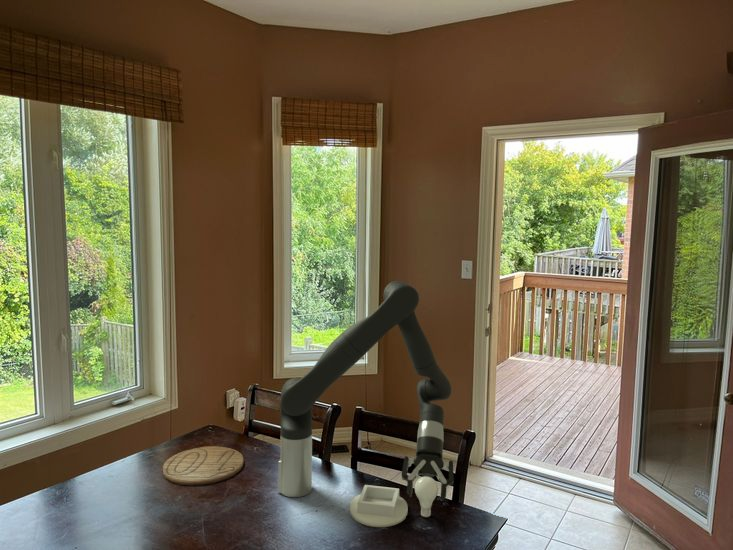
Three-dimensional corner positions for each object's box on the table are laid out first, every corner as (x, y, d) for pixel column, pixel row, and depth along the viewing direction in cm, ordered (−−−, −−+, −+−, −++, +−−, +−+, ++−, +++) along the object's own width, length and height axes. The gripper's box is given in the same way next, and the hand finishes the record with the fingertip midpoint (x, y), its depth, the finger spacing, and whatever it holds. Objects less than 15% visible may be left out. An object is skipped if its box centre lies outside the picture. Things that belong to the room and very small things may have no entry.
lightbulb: (436, 524, 139) (437, 484, 138) (412, 521, 140) (413, 481, 139) (438, 511, 145) (439, 473, 144) (415, 509, 147) (416, 471, 146)
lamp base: (343, 523, 139) (344, 506, 139) (356, 493, 155) (356, 478, 154) (403, 530, 136) (404, 513, 136) (410, 499, 152) (410, 484, 151)
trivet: (250, 452, 183) (250, 446, 183) (233, 487, 158) (233, 481, 158) (178, 451, 183) (178, 445, 183) (149, 486, 158) (149, 480, 158)
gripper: (404, 432, 150) (398, 490, 140) (455, 437, 148) (452, 496, 137) (406, 443, 156) (401, 499, 146) (455, 447, 153) (452, 505, 143)
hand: (426, 497), depth 142 cm, fingers open, 8 cm apart
